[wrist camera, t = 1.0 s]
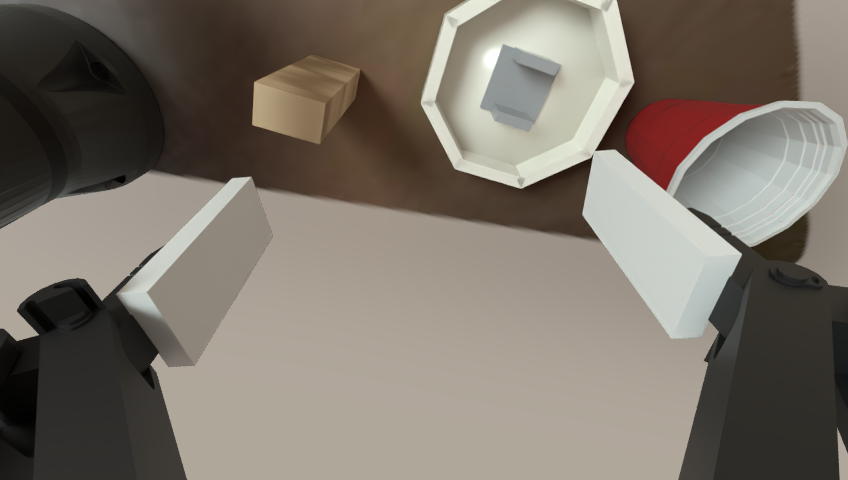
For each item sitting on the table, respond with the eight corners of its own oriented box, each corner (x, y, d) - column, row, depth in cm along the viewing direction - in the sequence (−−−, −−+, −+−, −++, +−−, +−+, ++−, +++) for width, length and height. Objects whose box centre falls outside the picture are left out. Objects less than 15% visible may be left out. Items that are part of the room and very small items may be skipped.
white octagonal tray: (408, 141, 34) (405, 155, 31) (464, -56, 27) (468, -63, 23) (555, 185, 37) (566, 203, 33) (647, 15, 29) (674, 17, 25)
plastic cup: (676, 198, 37) (766, 273, 27) (576, 172, 36) (632, 240, 26) (755, 86, 31) (906, 128, 21) (639, 50, 30) (742, 77, 20)
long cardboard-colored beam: (309, 84, 32) (252, 125, 22) (313, 53, 31) (254, 81, 21) (354, 99, 33) (319, 144, 23) (360, 69, 31) (325, 103, 21)
